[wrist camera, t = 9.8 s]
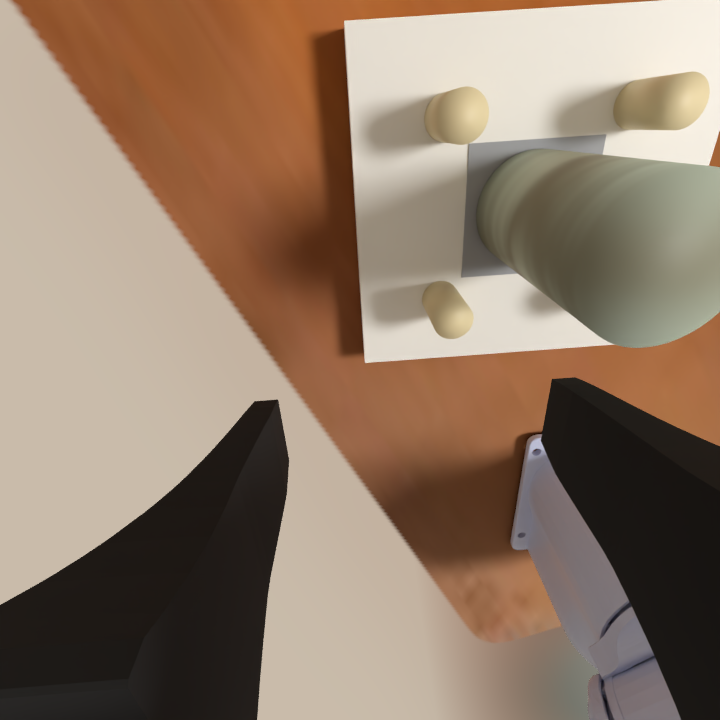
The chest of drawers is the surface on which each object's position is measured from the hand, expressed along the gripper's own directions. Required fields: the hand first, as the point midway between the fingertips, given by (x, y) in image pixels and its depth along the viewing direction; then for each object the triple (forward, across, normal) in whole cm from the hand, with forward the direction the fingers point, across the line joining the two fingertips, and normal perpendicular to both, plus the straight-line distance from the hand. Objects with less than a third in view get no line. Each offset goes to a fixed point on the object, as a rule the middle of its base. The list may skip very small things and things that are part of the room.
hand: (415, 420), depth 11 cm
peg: (+9, -6, -4) cm, 11 cm away
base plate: (+10, -6, -4) cm, 12 cm away
